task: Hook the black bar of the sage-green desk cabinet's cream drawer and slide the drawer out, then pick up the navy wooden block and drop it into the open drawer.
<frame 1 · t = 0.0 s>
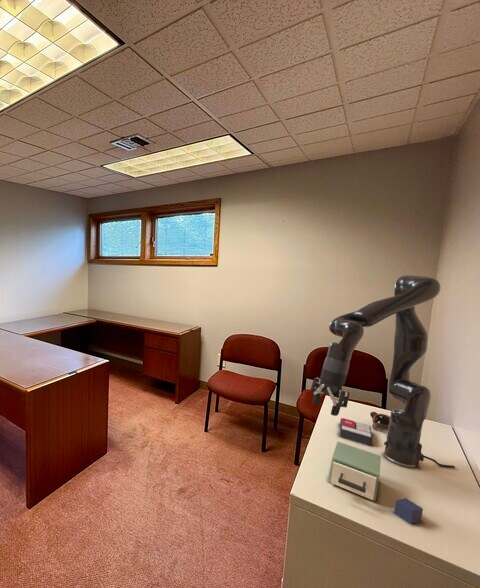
hand: (324, 409, 123), 22 cm above the table, tool pointing down, fingers open, 8 cm apart
pottery mug: (381, 428, 154), on the table
cabinet: (353, 480, 116), on the table
block: (407, 517, 100), on the table
red and grey box: (354, 434, 148), on the table
drawer: (353, 475, 112), point 5 cm above the table, slide at 0.5 cm
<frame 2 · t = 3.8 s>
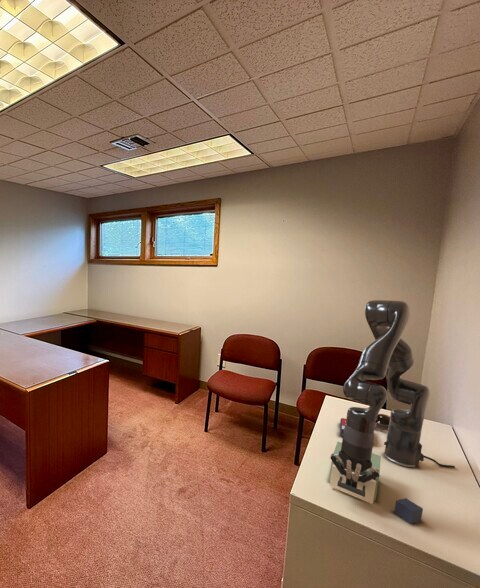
hand: (350, 488, 105), 5 cm above the table, tool pointing down, fingers closed
drawer: (353, 478, 110), point 5 cm above the table, slide at 2.9 cm, touching gripper
everything else where it was.
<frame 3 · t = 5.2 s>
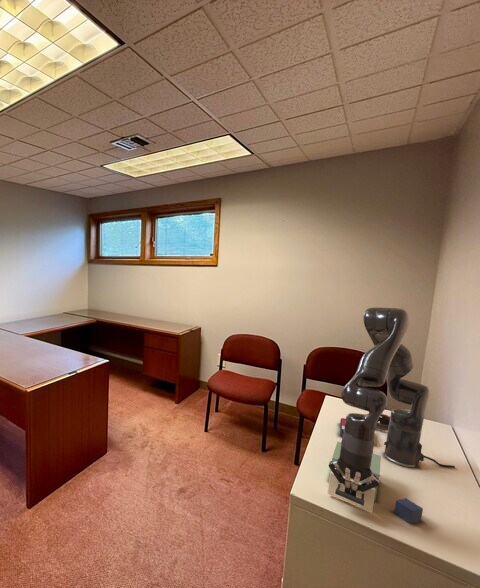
hand: (349, 497, 102), 4 cm above the table, tool pointing down, fingers closed
drawer: (351, 486, 107), point 5 cm above the table, slide at 8.0 cm, touching gripper
everything else where it was.
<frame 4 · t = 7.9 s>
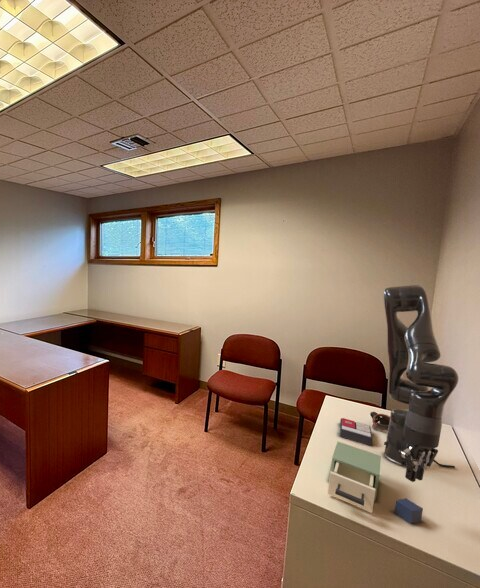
hand: (413, 479, 99), 13 cm above the table, tool pointing down, fingers closed
drawer: (351, 486, 107), point 5 cm above the table, slide at 8.0 cm
everything else where it was.
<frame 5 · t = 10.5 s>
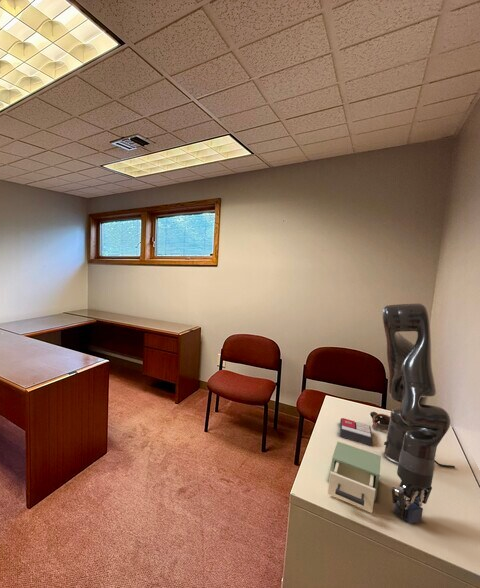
hand: (407, 516, 100), 0 cm above the table, tool pointing down, fingers closed on block, 4 cm apart
block: (407, 517, 100), on the table, touching gripper
everything else where it was.
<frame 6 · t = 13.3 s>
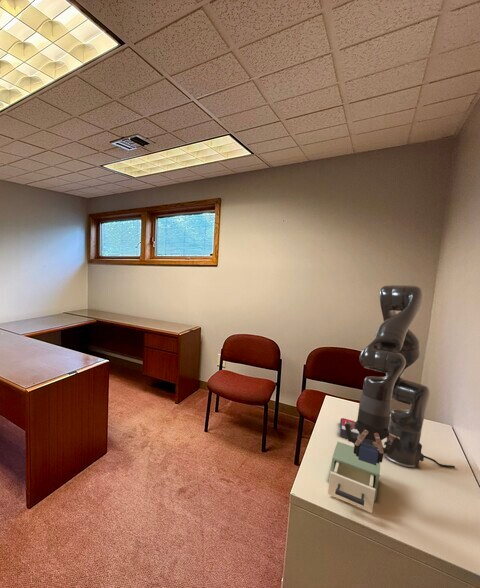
hand: (367, 458, 105), 15 cm above the table, tool pointing down, fingers closed on block, 4 cm apart
block: (367, 459, 105), point 15 cm above the table, touching gripper
everything else where it was.
when the fingers open (8 cm above the table, at t = 16.0 s): block drops 5 cm, resting on drawer.
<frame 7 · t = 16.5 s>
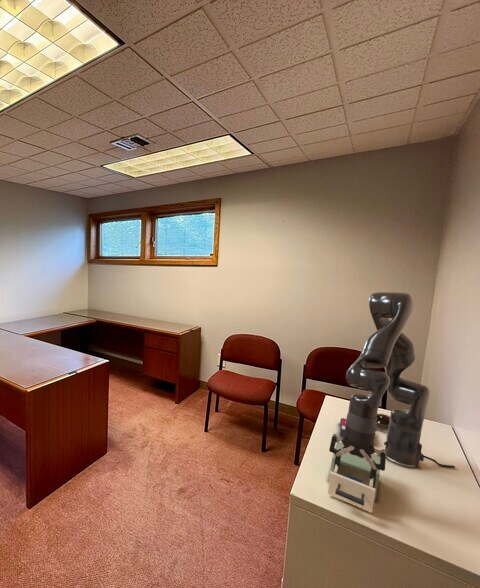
hand: (354, 471, 107), 9 cm above the table, tool pointing down, fingers open, 8 cm apart
block: (351, 491, 108), point 2 cm above the table, touching drawer
drawer: (351, 486, 107), point 5 cm above the table, slide at 8.0 cm, touching block
everything else where it was.
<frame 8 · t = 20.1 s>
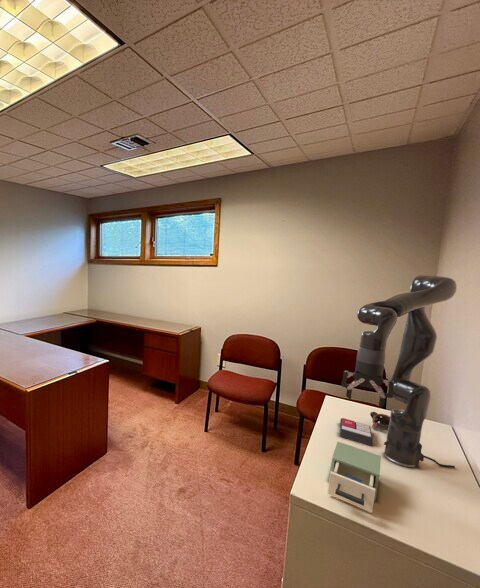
hand: (364, 402, 117), 28 cm above the table, tool pointing down, fingers open, 8 cm apart
nothing on the table moved.
at the end: drawer slide at 8.0 cm; block inside the target area in the drawer (3.2 cm from its centre), point 2.0 cm above the drawer's base; the gripper is holding nothing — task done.
